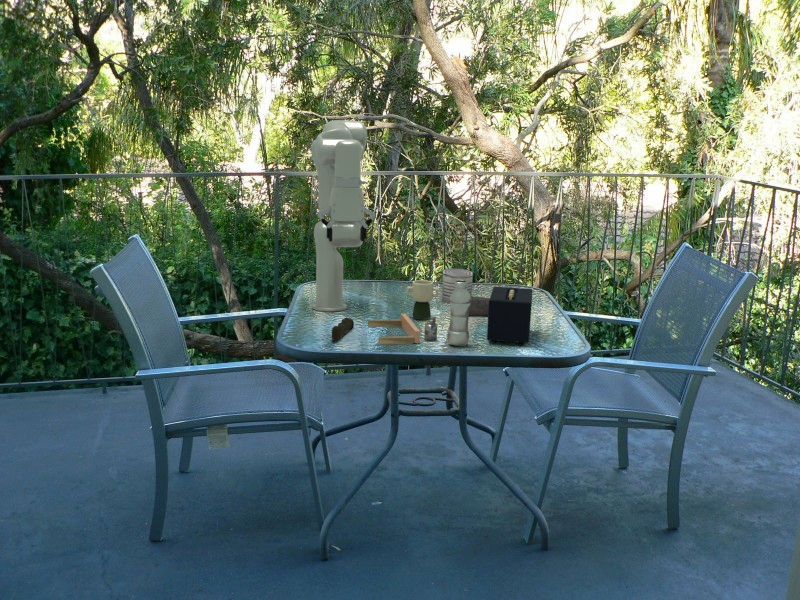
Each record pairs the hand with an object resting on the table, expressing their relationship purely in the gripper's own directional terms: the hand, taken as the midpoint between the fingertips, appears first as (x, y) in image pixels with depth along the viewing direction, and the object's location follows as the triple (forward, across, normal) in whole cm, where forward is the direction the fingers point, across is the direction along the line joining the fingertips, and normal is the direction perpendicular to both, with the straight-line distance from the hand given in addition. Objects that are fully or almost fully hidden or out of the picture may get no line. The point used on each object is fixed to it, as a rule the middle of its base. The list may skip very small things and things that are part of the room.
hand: (346, 240), depth 250 cm
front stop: (+31, -22, -7) cm, 39 cm away
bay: (+31, -16, -7) cm, 36 cm away
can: (+31, -50, -51) cm, 78 cm away
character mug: (+31, -31, -26) cm, 51 cm away
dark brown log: (+32, 0, -7) cm, 32 cm away
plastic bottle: (+31, -34, +8) cm, 47 cm away
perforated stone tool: (+31, -53, -30) cm, 68 cm away
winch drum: (+31, -27, 0) cm, 41 cm away
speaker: (+31, -53, 0) cm, 62 cm away
